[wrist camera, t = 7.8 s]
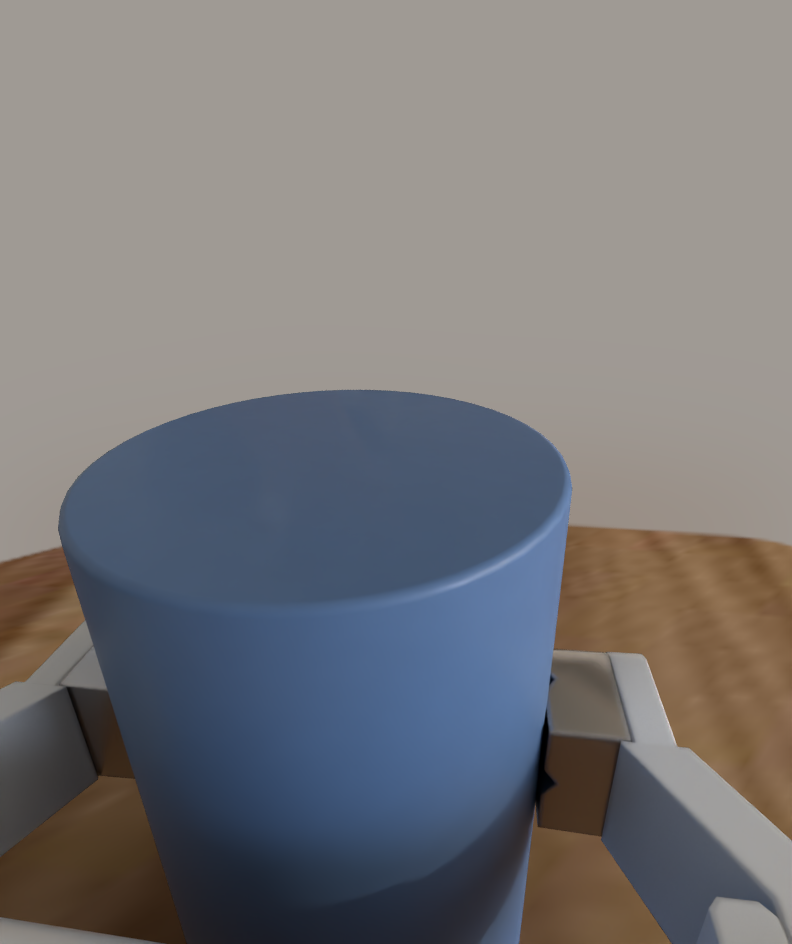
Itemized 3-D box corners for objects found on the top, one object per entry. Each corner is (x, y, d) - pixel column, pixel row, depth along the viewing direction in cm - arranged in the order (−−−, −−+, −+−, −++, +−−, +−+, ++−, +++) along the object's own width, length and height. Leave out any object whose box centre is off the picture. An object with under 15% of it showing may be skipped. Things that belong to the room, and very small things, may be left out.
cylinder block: (508, 816, 13) (547, 391, 9) (522, 1198, 8) (625, 637, 4) (272, 788, 14) (203, 384, 10) (150, 1121, 9) (-103, 583, 5)
